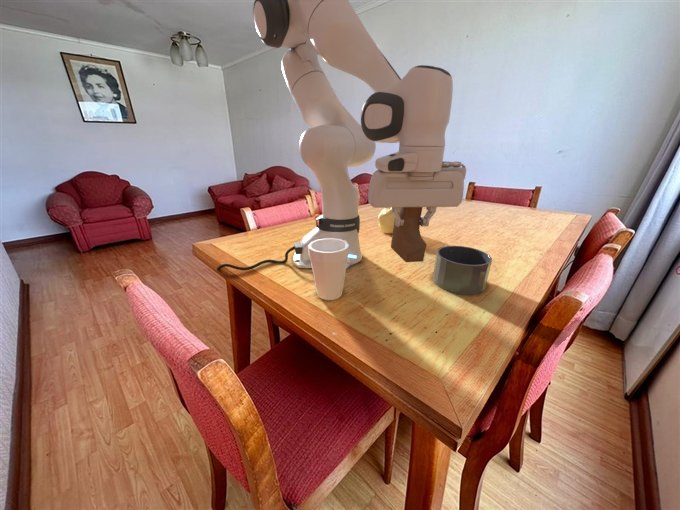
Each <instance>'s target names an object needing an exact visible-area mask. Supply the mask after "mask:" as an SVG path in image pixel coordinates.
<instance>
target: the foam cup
mask: <svg viewBox="0 0 680 510" xmlns="http://www.w3.org/2000/svg"><path fill="white" fill-rule="evenodd" d="M308 252H309V257H310V260H311V265H312V268H311V270H312V275H313V280H314V285H315V290H316V294H317V295H316V296H317V297H318V298H320V299H321V300H325V301H333V300H337V299H339V298H340V297H342V295H343V291H344V286H345V285H344V284H345V277H346V273H347V272H346V271H347V269H346V265H347V258H348V255H349V244H348V243H347V242H346V241H344V240H341V239H335V238H324V239H318V240H315V241H313V242H311V243H310V244H309V245H308Z"/></svg>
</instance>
